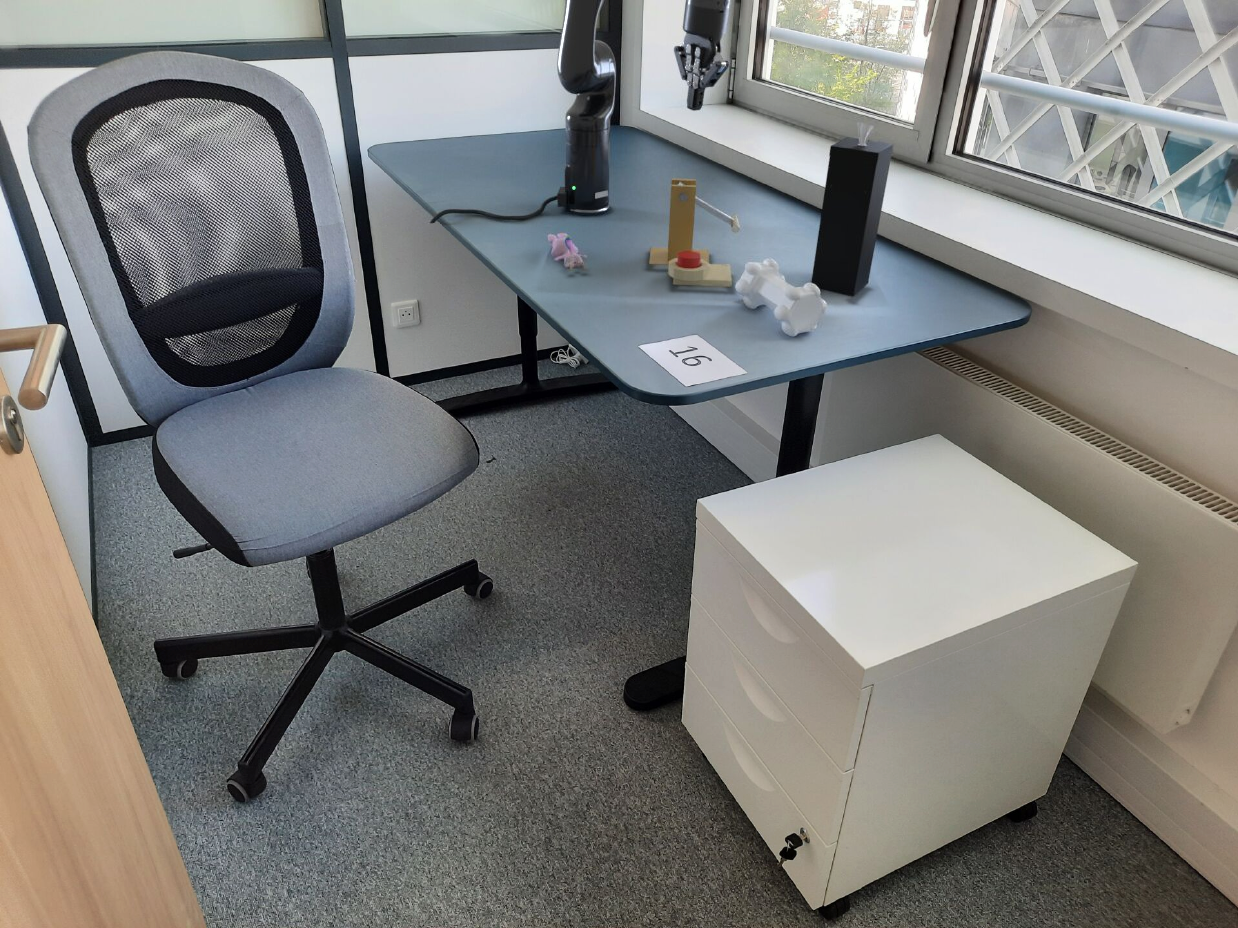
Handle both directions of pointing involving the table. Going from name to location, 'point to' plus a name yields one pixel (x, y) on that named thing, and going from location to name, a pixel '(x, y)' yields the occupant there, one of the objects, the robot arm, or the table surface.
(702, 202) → the tap lever
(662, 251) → the bracket
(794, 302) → the dog bone
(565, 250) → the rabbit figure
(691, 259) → the button
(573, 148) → the robot arm
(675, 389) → the table surface
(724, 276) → the button box
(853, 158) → the tissue box
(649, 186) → the table surface
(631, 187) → the table surface
